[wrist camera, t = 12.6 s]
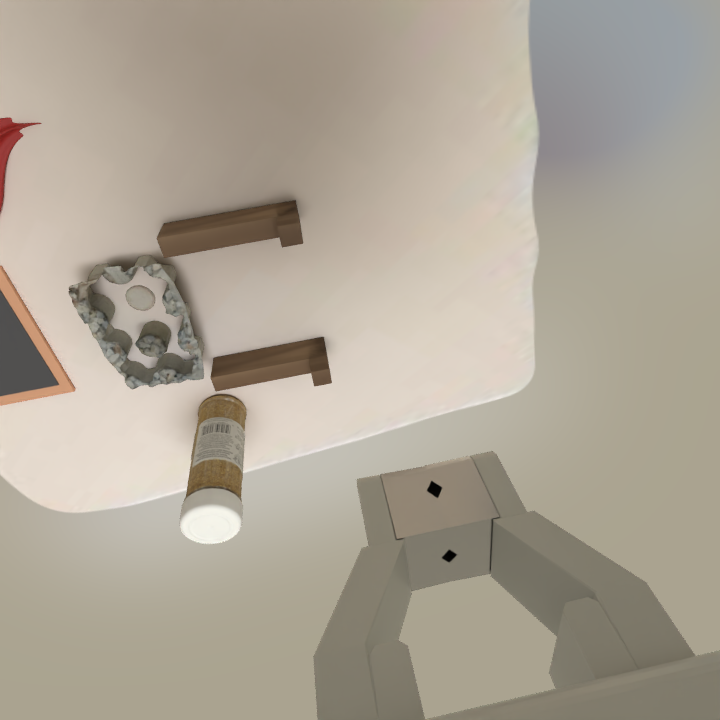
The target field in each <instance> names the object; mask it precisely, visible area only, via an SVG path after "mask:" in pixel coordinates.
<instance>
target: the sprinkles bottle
mask: <svg viewBox="0 0 720 720" xmlns="http://www.w3.org/2000/svg"><path fill="white" fill-rule="evenodd" d="M198 416H199V419H198V425H197V430H196V434H195V437H194V443H193V449H192V455H191V460H192V461H191V467H190V474H189V480H188V487H187V494H186V498H185V500H184V503H183V505H182V509H181V515H180V529H181V531H182V533H183V534H184V535H185V536H186V537H187V538H189V539H190V540H192V541H195V542H198V543H204V544H215V543H221V542H224V541H227V540H229V539H231V538H232V537H233V536H235V535H236V534H237V533H238V532H239V530H240V528H241V525H242V514H243V505H242V501H241V489H242V488H241V483H242V478H243V459H244V441H245V434H244V428H245V419H246V409H245V407H244V405H243V404H242V403H241V402H240V401H239V400H237V399H235V398H233V397H231V396H225V395H222V396H221V395H219V396H214V397H211V398H208V399H207V400H205V401H204V402H203V403H202V405H201V406H200V407H199V412H198Z"/></svg>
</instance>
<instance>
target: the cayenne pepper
mask: <svg viewBox="0 0 720 720" xmlns="http://www.w3.org/2000/svg"><path fill="white" fill-rule="evenodd" d="M35 124H42V123H13V122H12V119H11V118H2V119H0V212H1V208H2V204H3V197H4V178H5V170H6V164H7V160H8V156H9V154H10V151H11V149H12V148H13V146H14V145H15V143H16V142H17V141H18V140H19V139H20V138H21V137H22V136H23V134H22V133H20V132H19V131H20V130H21V129H22V128H25V127H28V126H31V125H35Z"/></svg>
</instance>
